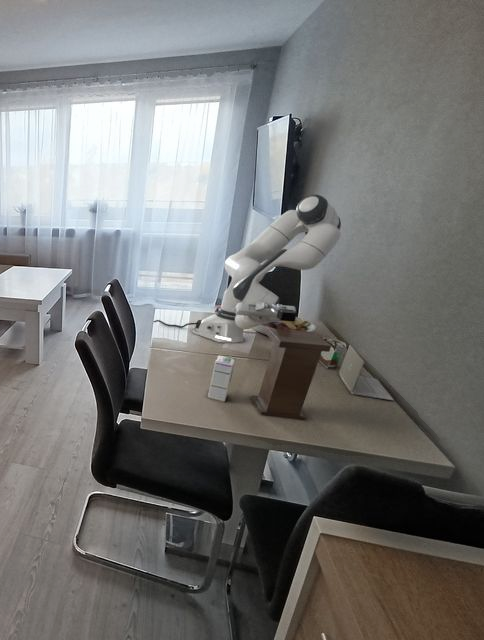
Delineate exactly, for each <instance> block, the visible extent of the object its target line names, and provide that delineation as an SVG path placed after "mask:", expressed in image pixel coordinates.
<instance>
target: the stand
mask: <svg viewBox="0 0 484 640" xmlns="http://www.w3.org/2000/svg"><path fill="white" fill-rule="evenodd" d="M266 334H267V335H266V336H267V337H268V338H269V339H270V340H271V341H272V342H273V346H272V349H271V351H270V355H269V359H268V361H267V365H266V368H265V372H264V376H263V380H262V382H261V385H260V389H259V393H258V395H251V397H250V400H251V402H252V403H253V404H254V406H255V407H256V409H257V411H258V412H259V414H260V415H262V416H269V417H277V418H285V419H292V420H293V419H294V420H301V421H305V419H306V416H305V414H304V413H303V412H302V410H303V407H304V404H305V401H306V398H307V394H308V392H309V389H310V388H311V387H310V386H311V384H312V381H313V378H314V375H315V372H316V369H317V366H318V364H319V362H320V361H319V358H320V355H321V352H322V351H325V352H329V351H330V348H331V345H330V344H328V343H327V342H326V341H324V340H323V337H321V336H320V335H318V334H317V333H316V332H315V331H314V332H308V331H296V330H284V329H272V328H267V331H266Z"/></svg>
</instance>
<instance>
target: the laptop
mask: <svg viewBox="0 0 484 640" xmlns="http://www.w3.org/2000/svg"><path fill="white" fill-rule="evenodd" d="M364 365H365V360H363V358H362V357H361V355H359V354H358V352H357V351H356V350H355V348H354V347H353V346H352V344H349V345H348V347H347V349H346V353H345V356H344V359H343V362H342V364H341V366H340V369H339V371H338V375H339V376H340V378H341V379H342V381H343V383H344V384H345V386H346V387H347V389H348V390H349V392H350V394H352V395H355V396H356V395H357V396H360V397H369V398H376V399H381V400H388V401H394V398H393V397H392V396H391V394H390V393H389V391H388V390H387V389H386V388H385V387H384V386H383V384H382V383H381V382H380V380H379V379H378V378H375V377H369V376H363V375H361V373H362V370H363V367H364Z"/></svg>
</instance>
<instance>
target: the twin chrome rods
mask: <svg viewBox="0 0 484 640" xmlns="http://www.w3.org/2000/svg"><path fill="white" fill-rule="evenodd" d="M267 306H268V309H270V310H271V311H272V312H273V313H274V314H276V315H277V316H276V317H277V318H278V319H279V320H280V321H292V322H295V319H296V317H297V315H298V313H297V312H296V311H293V310H289V309H281V308H279V307H278V306H277V305H276V304H274V303H272V304H271V306H270V305H269V304H268V305H267ZM273 307H274V308H275V309H276V310H275V309H274V308H273Z"/></svg>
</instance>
